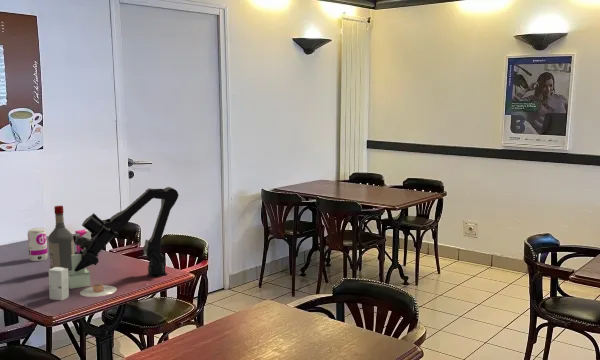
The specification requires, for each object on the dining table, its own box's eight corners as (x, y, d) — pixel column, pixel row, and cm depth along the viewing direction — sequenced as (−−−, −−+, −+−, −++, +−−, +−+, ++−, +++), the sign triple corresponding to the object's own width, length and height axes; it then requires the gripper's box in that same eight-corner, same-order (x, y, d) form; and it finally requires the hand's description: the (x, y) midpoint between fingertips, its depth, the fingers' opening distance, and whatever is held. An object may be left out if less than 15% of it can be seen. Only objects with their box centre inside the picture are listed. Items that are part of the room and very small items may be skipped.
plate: (105, 284, 245) (105, 283, 245) (123, 291, 236) (123, 290, 236) (73, 292, 235) (73, 291, 235) (90, 300, 226) (90, 299, 225)
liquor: (56, 276, 258) (51, 209, 254) (49, 271, 265) (44, 206, 261) (77, 271, 264) (72, 206, 260) (69, 267, 271) (65, 203, 267)
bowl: (100, 288, 238) (100, 282, 238) (105, 290, 235) (105, 284, 235) (91, 291, 235) (90, 285, 235) (96, 293, 232) (95, 287, 232)
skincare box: (49, 300, 227) (46, 269, 225) (57, 296, 231) (55, 266, 229) (62, 301, 225) (60, 270, 223) (70, 297, 229) (68, 267, 227)
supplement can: (51, 258, 287) (49, 228, 285) (36, 262, 281) (33, 231, 279) (41, 256, 292) (39, 226, 290) (26, 260, 285) (23, 230, 283)
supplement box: (87, 250, 302) (86, 228, 301) (92, 252, 298) (91, 230, 296) (76, 252, 298) (75, 230, 297) (81, 254, 294) (79, 232, 292)
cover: (88, 280, 249) (86, 252, 248) (90, 286, 242) (88, 256, 240) (68, 283, 246) (66, 254, 244) (69, 288, 239) (67, 259, 237)
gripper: (83, 224, 251) (57, 252, 248) (88, 233, 234) (60, 263, 231) (103, 240, 255) (78, 268, 252) (109, 249, 239) (82, 280, 235)
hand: (74, 269), depth 243 cm, fingers closed on cover, 4 cm apart
